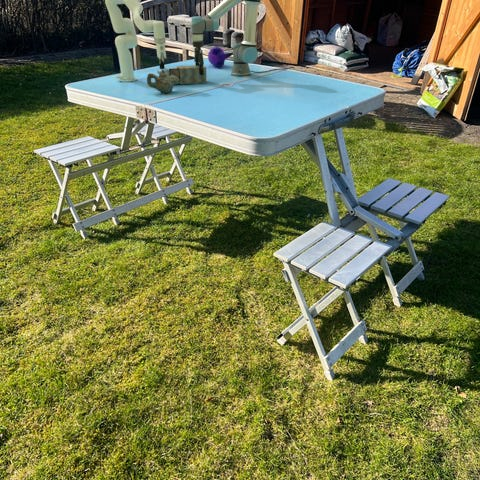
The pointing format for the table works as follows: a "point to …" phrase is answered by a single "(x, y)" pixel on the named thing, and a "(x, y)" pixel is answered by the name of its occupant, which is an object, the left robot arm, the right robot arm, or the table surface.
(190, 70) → the cabinet
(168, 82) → the teapot
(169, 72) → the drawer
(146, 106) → the table surface
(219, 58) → the toy
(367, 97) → the table surface
